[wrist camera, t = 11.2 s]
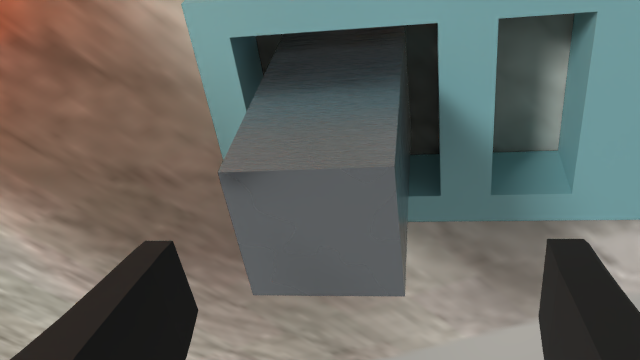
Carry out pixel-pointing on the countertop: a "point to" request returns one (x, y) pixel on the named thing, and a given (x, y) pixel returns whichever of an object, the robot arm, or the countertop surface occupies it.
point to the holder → (466, 100)
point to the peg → (325, 167)
